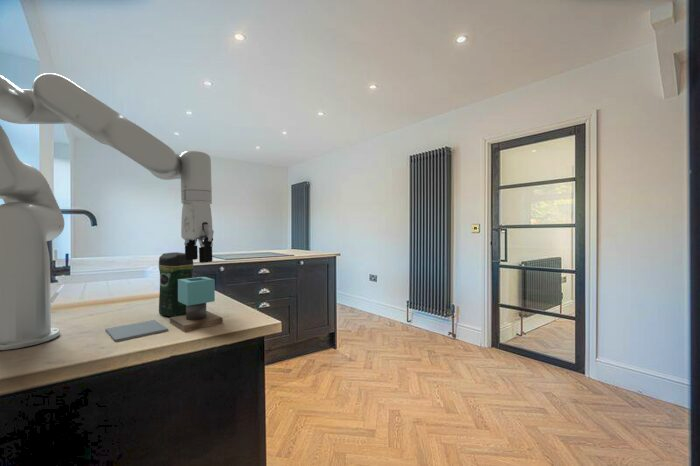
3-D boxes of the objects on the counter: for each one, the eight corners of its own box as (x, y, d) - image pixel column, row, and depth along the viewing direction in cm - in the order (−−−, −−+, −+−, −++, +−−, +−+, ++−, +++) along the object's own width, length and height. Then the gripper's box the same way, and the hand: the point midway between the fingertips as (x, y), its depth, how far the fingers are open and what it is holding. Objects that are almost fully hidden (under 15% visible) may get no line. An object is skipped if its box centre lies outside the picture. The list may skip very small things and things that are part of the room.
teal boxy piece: (187, 305, 82) (187, 282, 82) (177, 301, 87) (177, 279, 87) (214, 301, 87) (214, 279, 87) (204, 297, 92) (204, 276, 92)
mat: (115, 341, 73) (115, 339, 73) (105, 330, 80) (105, 328, 80) (168, 330, 81) (168, 328, 81) (154, 321, 88) (154, 319, 88)
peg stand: (183, 331, 80) (183, 286, 80) (170, 323, 87) (170, 281, 87) (222, 323, 88) (222, 281, 87) (207, 315, 94) (207, 277, 94)
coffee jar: (198, 312, 98) (198, 252, 97) (172, 319, 91) (172, 254, 90) (179, 308, 102) (179, 250, 102) (154, 314, 96) (153, 252, 95)
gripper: (170, 199, 90) (172, 260, 90) (195, 195, 78) (196, 264, 79) (198, 200, 95) (199, 257, 96) (224, 196, 84) (226, 261, 84)
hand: (198, 260), depth 87 cm, fingers open, 9 cm apart
